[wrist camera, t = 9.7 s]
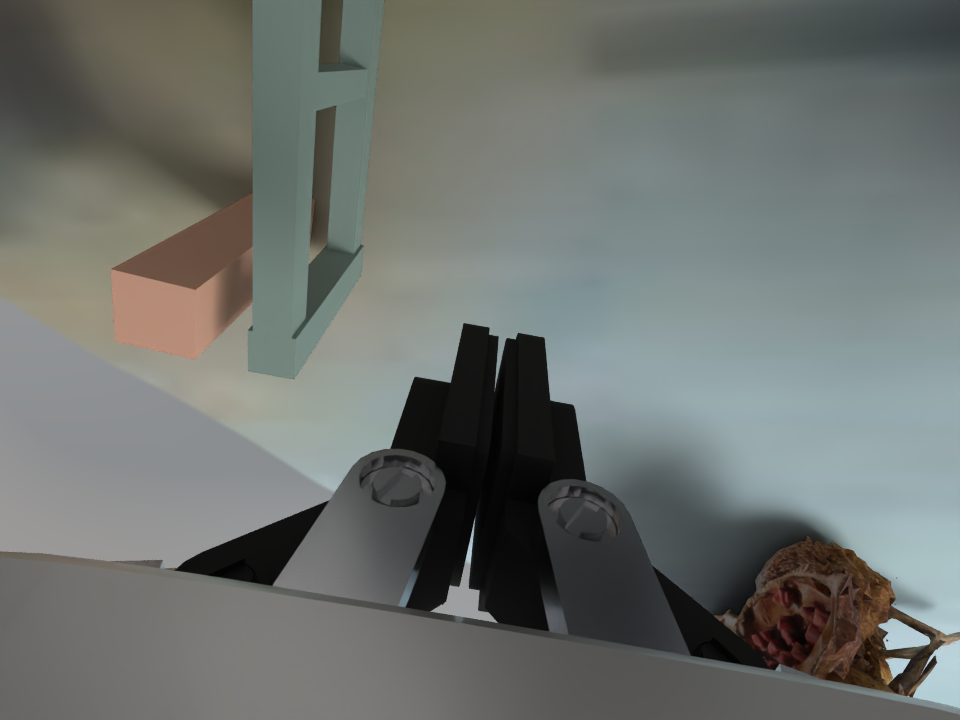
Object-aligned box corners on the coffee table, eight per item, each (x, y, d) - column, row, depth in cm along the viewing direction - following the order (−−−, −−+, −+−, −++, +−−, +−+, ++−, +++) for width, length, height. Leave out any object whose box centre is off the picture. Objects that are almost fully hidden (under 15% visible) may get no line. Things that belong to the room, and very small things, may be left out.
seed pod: (970, 506, 25) (694, 736, 26) (1159, 758, 28) (904, 965, 28) (778, 429, 40) (603, 577, 40) (913, 599, 42) (747, 737, 42)
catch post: (315, 199, 27) (195, 289, 16) (309, 246, 28) (194, 359, 17) (265, 186, 26) (110, 269, 16) (261, 233, 28) (115, 341, 17)
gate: (361, -237, 19) (215, -555, 9) (420, -222, 19) (337, -519, 9) (327, 264, 27) (233, 377, 18) (368, 272, 27) (297, 388, 18)
